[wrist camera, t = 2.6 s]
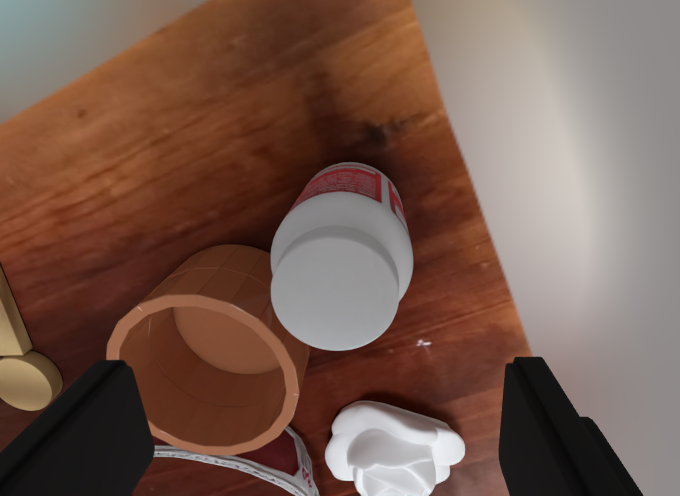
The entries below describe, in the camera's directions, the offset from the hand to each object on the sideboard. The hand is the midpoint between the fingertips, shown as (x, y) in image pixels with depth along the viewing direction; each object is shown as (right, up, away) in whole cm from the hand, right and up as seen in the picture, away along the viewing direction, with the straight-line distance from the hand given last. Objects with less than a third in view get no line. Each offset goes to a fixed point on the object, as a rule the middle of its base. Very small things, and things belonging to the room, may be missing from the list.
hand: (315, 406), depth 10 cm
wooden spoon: (-24, 0, +20) cm, 31 cm away
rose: (+5, -10, +21) cm, 24 cm away
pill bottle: (+1, +6, +15) cm, 16 cm away
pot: (-6, -1, +18) cm, 19 cm away
